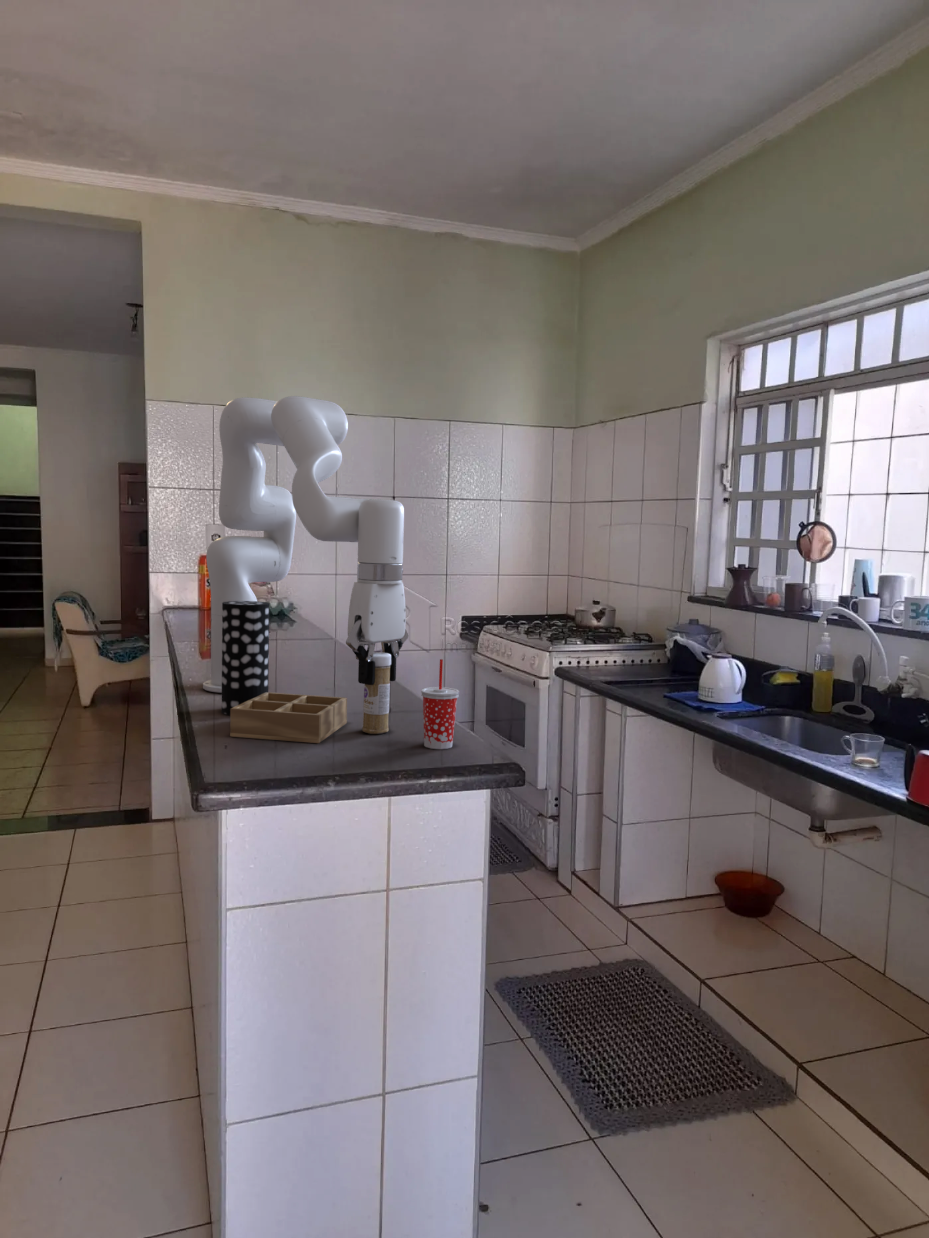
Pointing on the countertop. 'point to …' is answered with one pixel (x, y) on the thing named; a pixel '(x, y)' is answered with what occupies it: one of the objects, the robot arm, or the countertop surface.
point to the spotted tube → (244, 652)
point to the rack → (288, 717)
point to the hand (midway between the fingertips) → (377, 680)
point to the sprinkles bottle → (378, 696)
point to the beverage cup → (439, 714)
